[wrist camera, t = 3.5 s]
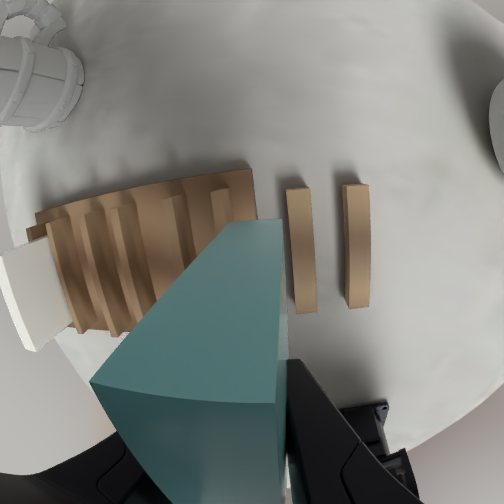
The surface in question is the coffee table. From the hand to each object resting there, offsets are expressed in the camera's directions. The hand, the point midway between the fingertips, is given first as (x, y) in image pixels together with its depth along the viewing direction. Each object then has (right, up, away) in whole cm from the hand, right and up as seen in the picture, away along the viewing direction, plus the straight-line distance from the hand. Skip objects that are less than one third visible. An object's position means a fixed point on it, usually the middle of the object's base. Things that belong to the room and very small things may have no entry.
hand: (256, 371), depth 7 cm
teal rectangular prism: (0, +1, +2) cm, 3 cm away
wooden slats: (+5, +4, +11) cm, 13 cm away
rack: (-9, +3, +13) cm, 16 cm away
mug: (-17, +19, +9) cm, 27 cm away
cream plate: (-15, +2, +13) cm, 20 cm away
